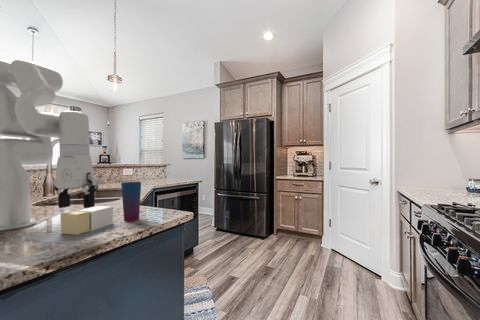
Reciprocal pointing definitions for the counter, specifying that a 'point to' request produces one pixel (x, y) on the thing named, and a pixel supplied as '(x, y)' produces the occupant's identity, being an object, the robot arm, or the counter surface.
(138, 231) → the counter surface
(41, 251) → the counter surface
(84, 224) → the stub
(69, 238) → the board
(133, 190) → the cup
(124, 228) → the counter surface
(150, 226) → the counter surface
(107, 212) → the white rectangular box
